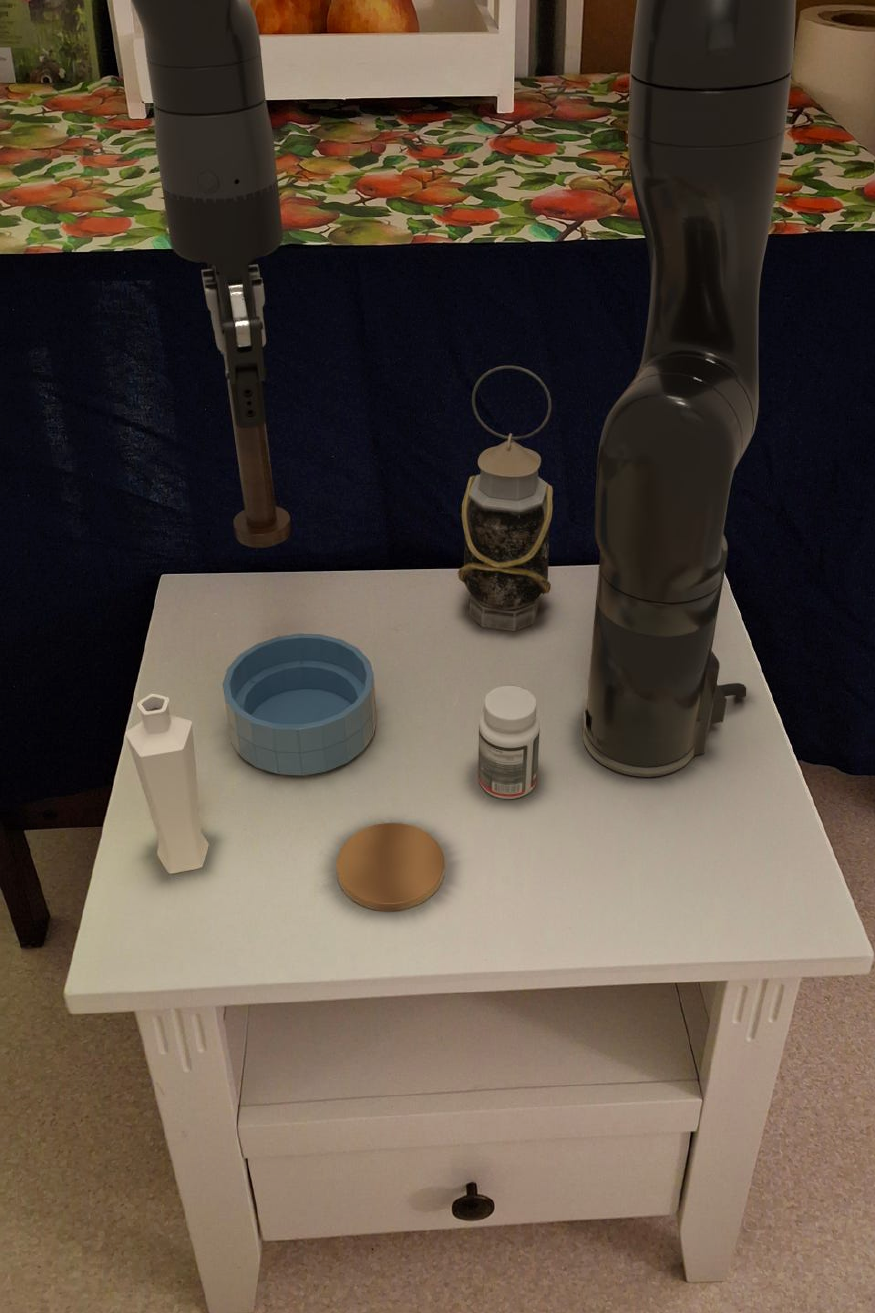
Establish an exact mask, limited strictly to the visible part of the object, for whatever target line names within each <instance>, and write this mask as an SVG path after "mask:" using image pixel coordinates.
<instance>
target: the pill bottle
mask: <svg viewBox="0 0 875 1313" xmlns="http://www.w3.org/2000/svg"><path fill="white" fill-rule="evenodd" d="M537 706H538V705H537V699H536V697H535V696H534V694H533V693H532V692H530V690H527V689H526V688H523V687H520V686H515V685H502V686H497V687H496V688H493V689H492V690H490V691H488V693H487V694H486V695H485V697H484V701H483V713H481V715H480V718H479V721H478V722H479V723H478V762H477V764H478V765H477V766H478V769H477V771H478V772H477V779H478V783H479V784H480V786H481V788H482V789H483V790H484V791H485V792H486V793H487V794H489V795H490V796H493V797H495V798H498V799H502V800H513V799H519V798H521V797H524V796H526V795H527V794H529V793H530V792H532V791H533V789H534V788H535V786H536V784H537V782H538V780H537V779H538V767H539V751H540V750H539V749H540V732H541V725H540V720H539V718H538V716H537Z"/></svg>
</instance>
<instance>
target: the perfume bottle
mask: <svg viewBox="0 0 875 1313" xmlns="http://www.w3.org/2000/svg"><path fill="white" fill-rule="evenodd" d="M169 703H170V698H169V697H167V696H164V695H161V694H157V693H151V694H148V695H147V696H145V697H144V698H143V699H142V698H141V700H140V701H138V702H137V703H136V706H137V707H138V709H139V710H140V715H141V719H142V720H141V721H139V723H137V724H135V725H134V726H132V727H131V728H130V729H128V730H126V731H125V733H124V734H125V737H126V740H127V744H128V748H129V750H130V753H131V756H132V760H133V763H134V765H135V769H136V772H137V775H138V778H139V781H140V784H141V787H142V788H141V789H142V790H143V794H144V797H145V801H146V803H147V807H148V809H149V812H150V816H151V819H152V822H153V825H154V829H155V832H156V834H157V838H158V844H157V845H158V846H157V851H156V855H157V857H158V859H159V860H160V862H161V864H162V865H163V867H164V868H165V870H166V872H167V873H168V874H177V873H183V872H188V871H192V870H199V869H201V868H203V866H204V864H205V860H206V856H207V853H208V851H209V850H208V849H209V847H210V844H209V842H208V840H207V838H206V837H205V835H204V834H203V831H202V824H201V813H200V800H199V790H198V787H199V786H198V777H197V765H196V754H195V752H196V751H195V742H194V740H195V739H194V730H193V729H194V728H193V721H192V720H189V719H186V718H183V717H179V716H175V715H172V714H171V713H170V707H169Z"/></svg>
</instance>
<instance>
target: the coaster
mask: <svg viewBox="0 0 875 1313" xmlns="http://www.w3.org/2000/svg"><path fill="white" fill-rule="evenodd" d="M338 852H339V853H338V855H337V859H336V867H335V868H336V876H337V881H338V884H339V886H340V888H341V889H342V891H343V892H344V893H345V894H346V896H348V897H349V898H350V899H351V900H352V901H354V902H355V903H357V904H358V905H360V906H362V907H365V908H368V909H371V910H374V911H380V912H381V911H382V912H397V911H403V910H406V909H410V908H414V907H416V906H418V905H419V904H422V903H423V902H425V901H427V900H428V899H429V898H430V897H432V896H433V895H434V894H435V892H436V891H438V889H439V887H440V886H441V884H442V882H443V880H444V876H445V869H446V867H445V866H446V865H445V855H444V851H443V849H442V848H441V846H440V844H439V843H438V841H437V840H436V839H435V838H434V837H433V835H431V834H430V833H428V832H427V831H425V830H423V829H421V828H419V827H416V826H414V825H411V824H405V823H402V822H401V823H400V822H386V823H379V824H374V825H371V826H368V827H365V828H364V829H361V830H359V831H357V832H356V833H355V834H354V835H352V836H350V838H349V839H347V840H346V842H344V843H343V845H342V847H341V848H340V850H339V851H338Z"/></svg>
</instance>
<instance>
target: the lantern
mask: <svg viewBox="0 0 875 1313" xmlns="http://www.w3.org/2000/svg"><path fill="white" fill-rule="evenodd" d="M506 369H507V370H511V369H512V370H517V371H521V372H523V373H527V374H528V375H529V376H531V377H533V378H534V379H535V380H536V381H538V383H539V384H540V386H542V388H543V390H544V392H545V394H546V398H547V404H548V407H547V413H546V416H545V418H544V420H543V422H542V423H541V425H540V426H539V427H538V428H537V429H535V430H534V431H533V432H530V433H528V434H525V435H521V436H514V435H513V433H509V434H508V435H504V434H500V433H498V432H496V431H494V430H493V429H491V428H490V427H489V426H488V425H486V424H485V423H484V421H483V420H482V419H481V417H480V415H479V413H478V411H477V407H476V393H477V390H478V387H479V386H480V384H481V382H482V381H483V380H484V379H485V378H486V377H487V376H488V375H490V374H492V373H495V372H497V371H500V370H506ZM471 394H472V395H471V406H472V410H473V413H474V416H475V417H476V419H477V422H479V423H480V425H481V426H482V427H483V428H484V429H485V430H486V431H487V432H489V433H490V434H492V435H494V436H496V437H498V438H501V439H505V441H504V442H502V443H500V444H499V445H496V446H492V447H489V448H487V449H484V450H483V451H482V452H481V453H480V454H479V457H478V459H477V466H478V467H479V469H480V474H477V475H471V476H470V477H469V479H468V482H467V486H466V489H465V492H464V496H463V499H462V504H461V521H462V527H463V532H464V553H463V556H464V557H463V566H462V567H460V568H459V570H458V573H457V575H458V580H459V581H461V582H462V583H464V585H465V588H466V590H467V591H468V593H469V594H470V595H469V598H470V602H469V616H470V617H471V618H473V620H474V621H476V622H477V623H478V625H480V626H481V627H482V628H489V629H496V630H503V631H510V632H517V631H519V630H521V629H523V628H526V627H528V626H530V625H531V626H532V625H533V624H534V623H535V621H536V618H537V614H538V611H539V607H540V596H541V595H545V594H549V593H550V591H551V589H552V588H551V587H552V585H551V583H550V581H549V579H548V578H549V554H550V553H549V552H550V524H551V520H552V517H553V494H554V493H553V492H554V490H553V486H552V485H550V484H548V482H546V481H545V480H543V479H542V478H541V477H540V476H539V471H538V470H539V469H540V466H541V463H542V457H541V456H540V454H539V453H537V451H534V450H532V449H530V448H526V447H523V446H522V445H521V444H519V443H518V442H516V441H518V440H524V439H528V438H531V437H533V436H535V435H536V434H538V433H540V431H541V430H542V429H544V427H545V426H546V424H547V423H548V421H549V419H550V416H551V413H552V398H551V394H550V392H549V390H548V387H547V386H546V384H545V383H544V381H543V380H542V379H541V378H540V377H539V376H538V375H536V373H534V372H532V371H531V370H529V369H527V368H524V367H521V366H516V365H501V366H496V367H494V368H492V369H489V370H487V372H485V373H484V374H482V375H481V377H479V379H478V380H477V381H476V383H475V385H474V387H473V390H472V392H471Z"/></svg>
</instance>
